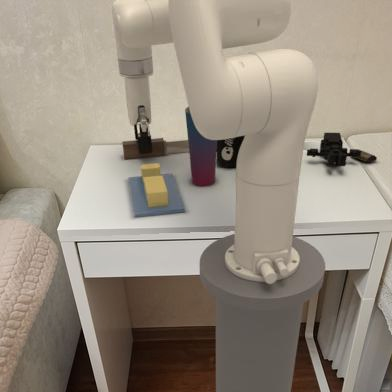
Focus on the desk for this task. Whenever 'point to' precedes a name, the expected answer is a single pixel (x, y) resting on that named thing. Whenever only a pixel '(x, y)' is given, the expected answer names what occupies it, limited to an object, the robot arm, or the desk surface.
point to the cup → (200, 154)
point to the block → (367, 156)
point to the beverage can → (228, 151)
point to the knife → (154, 148)
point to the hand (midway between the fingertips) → (143, 145)
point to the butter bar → (155, 191)
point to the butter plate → (141, 201)
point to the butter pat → (150, 170)
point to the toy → (333, 150)
